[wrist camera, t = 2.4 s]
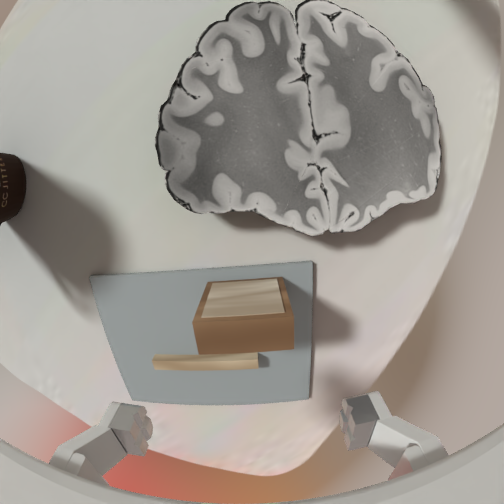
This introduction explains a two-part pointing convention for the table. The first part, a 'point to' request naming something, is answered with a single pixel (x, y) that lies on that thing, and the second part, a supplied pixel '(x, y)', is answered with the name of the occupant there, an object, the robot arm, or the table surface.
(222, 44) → the brain slice
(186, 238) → the table surface
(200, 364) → the birch strip
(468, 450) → the robot arm
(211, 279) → the rubber mat
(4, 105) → the table surface
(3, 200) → the coffee mug
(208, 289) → the walnut block
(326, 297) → the table surface
